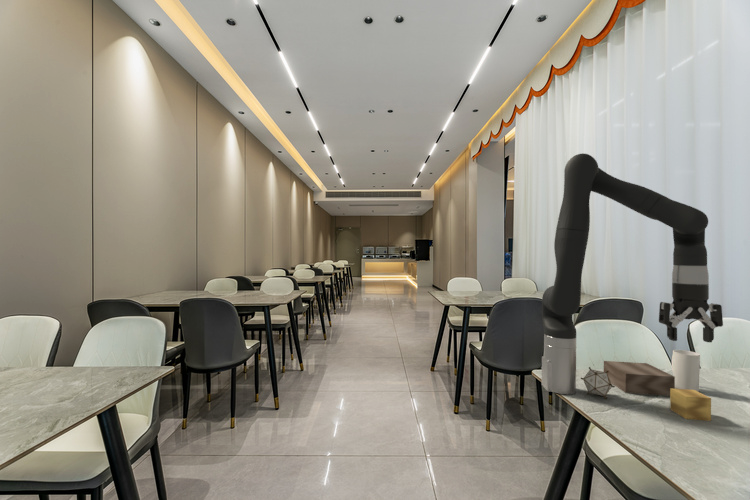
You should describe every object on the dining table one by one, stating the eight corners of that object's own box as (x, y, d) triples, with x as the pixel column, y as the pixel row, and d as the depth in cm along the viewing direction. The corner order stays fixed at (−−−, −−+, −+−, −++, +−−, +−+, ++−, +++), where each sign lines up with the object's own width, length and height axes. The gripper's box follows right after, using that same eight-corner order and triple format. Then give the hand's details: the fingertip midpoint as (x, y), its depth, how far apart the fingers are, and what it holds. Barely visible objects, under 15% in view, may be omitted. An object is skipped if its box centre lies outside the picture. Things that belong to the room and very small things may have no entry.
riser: (625, 392, 112) (625, 373, 112) (603, 377, 126) (603, 360, 126) (674, 396, 110) (674, 376, 110) (646, 380, 123) (646, 363, 124)
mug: (705, 394, 112) (705, 356, 112) (681, 392, 113) (681, 354, 113) (683, 382, 122) (683, 348, 122) (661, 381, 123) (661, 346, 123)
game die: (590, 405, 111) (573, 373, 116) (618, 398, 109) (600, 366, 115) (594, 400, 104) (576, 366, 109) (624, 392, 102) (605, 359, 108)
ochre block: (685, 419, 94) (685, 396, 94) (670, 409, 100) (670, 388, 100) (711, 421, 93) (711, 398, 93) (694, 411, 99) (694, 389, 99)
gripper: (670, 282, 95) (670, 343, 94) (730, 283, 92) (731, 345, 92) (652, 280, 102) (652, 336, 102) (708, 281, 100) (708, 339, 100)
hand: (690, 341), depth 97 cm, fingers open, 8 cm apart
